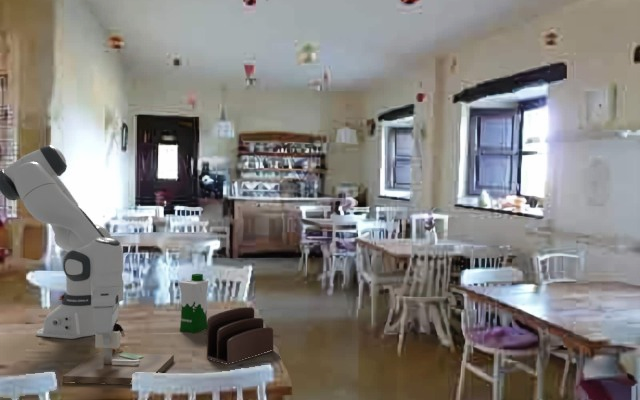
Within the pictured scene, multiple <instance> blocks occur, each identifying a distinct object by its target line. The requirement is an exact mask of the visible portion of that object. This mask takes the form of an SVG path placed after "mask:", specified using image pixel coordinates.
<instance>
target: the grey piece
mask: <svg viewBox="0 0 640 400" xmlns="http://www.w3.org/2000/svg"><path fill="white" fill-rule="evenodd" d="M94 336H95V338H94V339H95V340H94V341H95V349H103V351H102V353H103V364H112V362H114V363H139V360H116V359H112V353H113V352H112V348H119V347H120V348H121V333H120V331H111V332H110V339H111V340H110V344H109V345H104V344H103V336H102V335H97V334H96V333H95V335H94Z"/></svg>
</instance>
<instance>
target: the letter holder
mask: <svg viewBox="0 0 640 400" xmlns="http://www.w3.org/2000/svg"><path fill="white" fill-rule="evenodd" d="M264 321H265V320H264V318H262V317H255V308H254V307H252V306H251V307H250V306H248V307H247V306H246V307H237V308H233V309H229V310H225V311H222V312H218V313H215V314H213V315H211V316H209V317H207V329H206V359H207V358H208V359H207V360H209V359H212V360H215V361H219V362H223V363H227V364H229V363H232V362H236V361H239V360H242V359H245V358H248V357H252V356H255V355H258V354H261V353H264V352H267V351H270V350H273V349H275V348H274V329H273V327H268V326H267V327H264ZM212 360H211V361H212ZM215 361H214V362H215ZM219 362H218V363H219Z"/></svg>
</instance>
